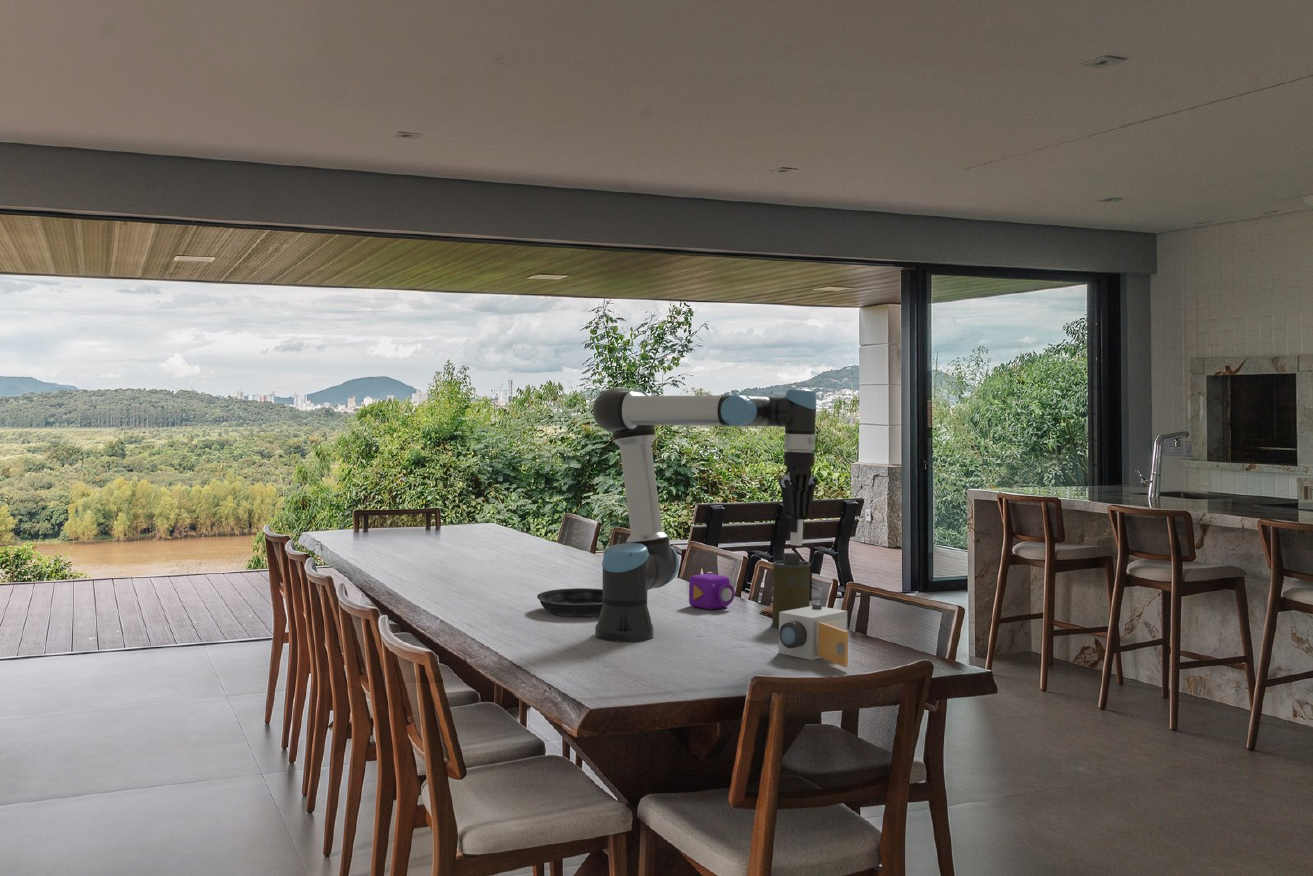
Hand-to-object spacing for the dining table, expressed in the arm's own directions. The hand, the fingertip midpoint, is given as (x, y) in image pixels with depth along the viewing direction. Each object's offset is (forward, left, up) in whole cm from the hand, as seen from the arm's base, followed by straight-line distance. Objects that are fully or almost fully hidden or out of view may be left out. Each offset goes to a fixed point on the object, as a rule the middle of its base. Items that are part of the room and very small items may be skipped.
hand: (796, 545), depth 268 cm
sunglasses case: (+28, +26, -26) cm, 46 cm away
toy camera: (+23, +49, -26) cm, 60 cm away
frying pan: (-5, +70, -26) cm, 75 cm away
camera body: (-5, -8, -25) cm, 27 cm away
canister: (+19, +16, -26) cm, 35 cm away
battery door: (-11, -19, -24) cm, 33 cm away
